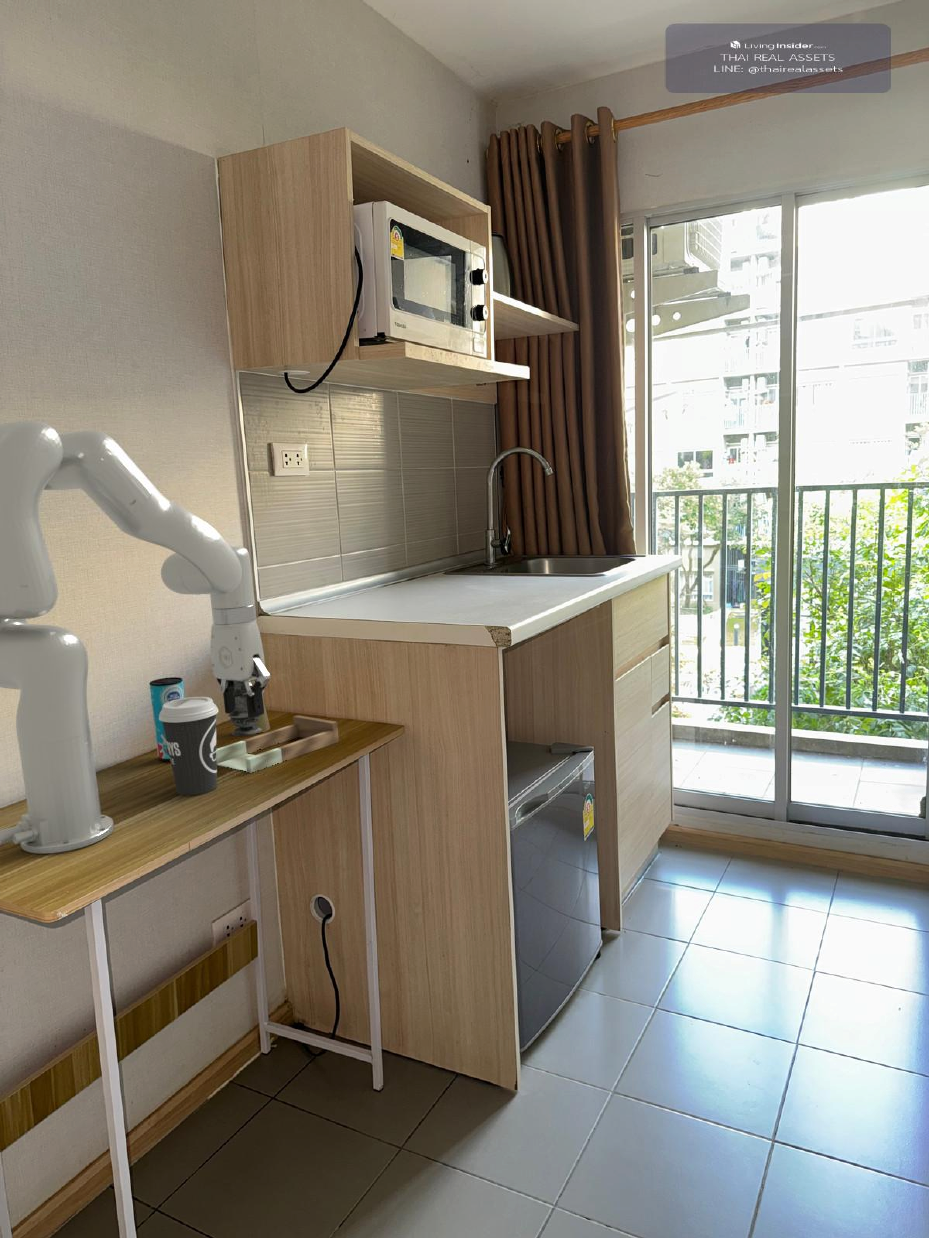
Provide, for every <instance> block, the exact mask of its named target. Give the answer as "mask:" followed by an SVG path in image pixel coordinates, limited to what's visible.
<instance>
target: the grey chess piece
mask: <svg viewBox="0 0 929 1238" xmlns="http://www.w3.org/2000/svg"><path fill="white" fill-rule="evenodd" d="M233 682H234V691H235V692H234V693H233V695H234V696H235V710H234V711H233V712H231V713H229V714H228V715H227V716H228V718H230V722H231V723H232V725H233V726H234V727H236V729H234V730H233V731H232V732H231V735H233V736H236V737H245V736H246V737H247V736H252V735H257V734H256V733H259V732H260V731H261V730H262V729H261V728H260V727H258V726H253V725H255V724H257V722H258V721H259V718H260V715H259V716H256V717H253V718H250V717H248V710H247V701H246V696H249V695H248V692H247V689H246V686H245V683H244V681H243V682H240V681H233Z"/></svg>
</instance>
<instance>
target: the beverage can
mask: <svg viewBox="0 0 929 1238" xmlns="http://www.w3.org/2000/svg"><path fill="white" fill-rule="evenodd" d="M149 691H150V700H151V708H152V709H151V710H152V717H153V725H154V726H153V727H154V734H155V742H156V750H157V757H158V759H159V760H160V761H162V762H171V760H170V756H169V751H168V746H167V741H166V737H165V732H164V727H163V723H162V721H160V720H159V714H160V712H161V711H162V707H163V704H165V703H167V702H169V701H172V700H176V699H181V698H186V697H185V691H184V683H183V678H182V677H176V676H175V677H164V678H163V677H162V678H157V679H154V680H151V681H150V682H149Z"/></svg>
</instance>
